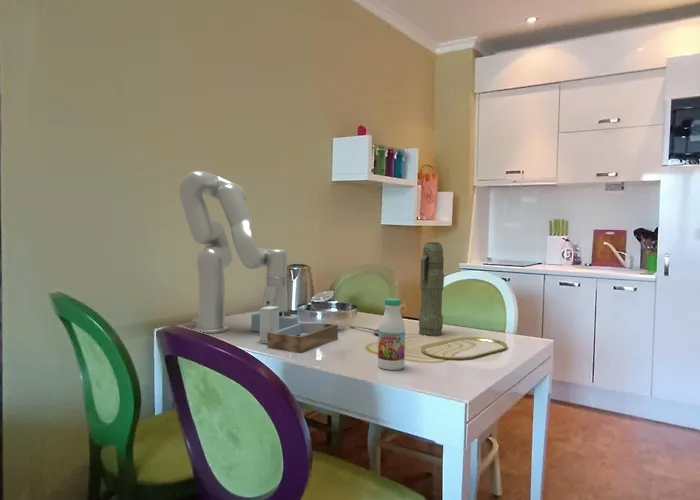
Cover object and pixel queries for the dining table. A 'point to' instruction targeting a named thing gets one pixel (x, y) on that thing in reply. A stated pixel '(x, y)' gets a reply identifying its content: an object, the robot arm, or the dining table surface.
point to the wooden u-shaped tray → (302, 339)
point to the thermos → (431, 290)
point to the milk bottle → (391, 337)
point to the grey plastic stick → (311, 326)
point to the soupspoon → (366, 328)
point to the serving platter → (462, 340)
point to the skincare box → (268, 321)
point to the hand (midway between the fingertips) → (276, 330)
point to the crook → (280, 325)
